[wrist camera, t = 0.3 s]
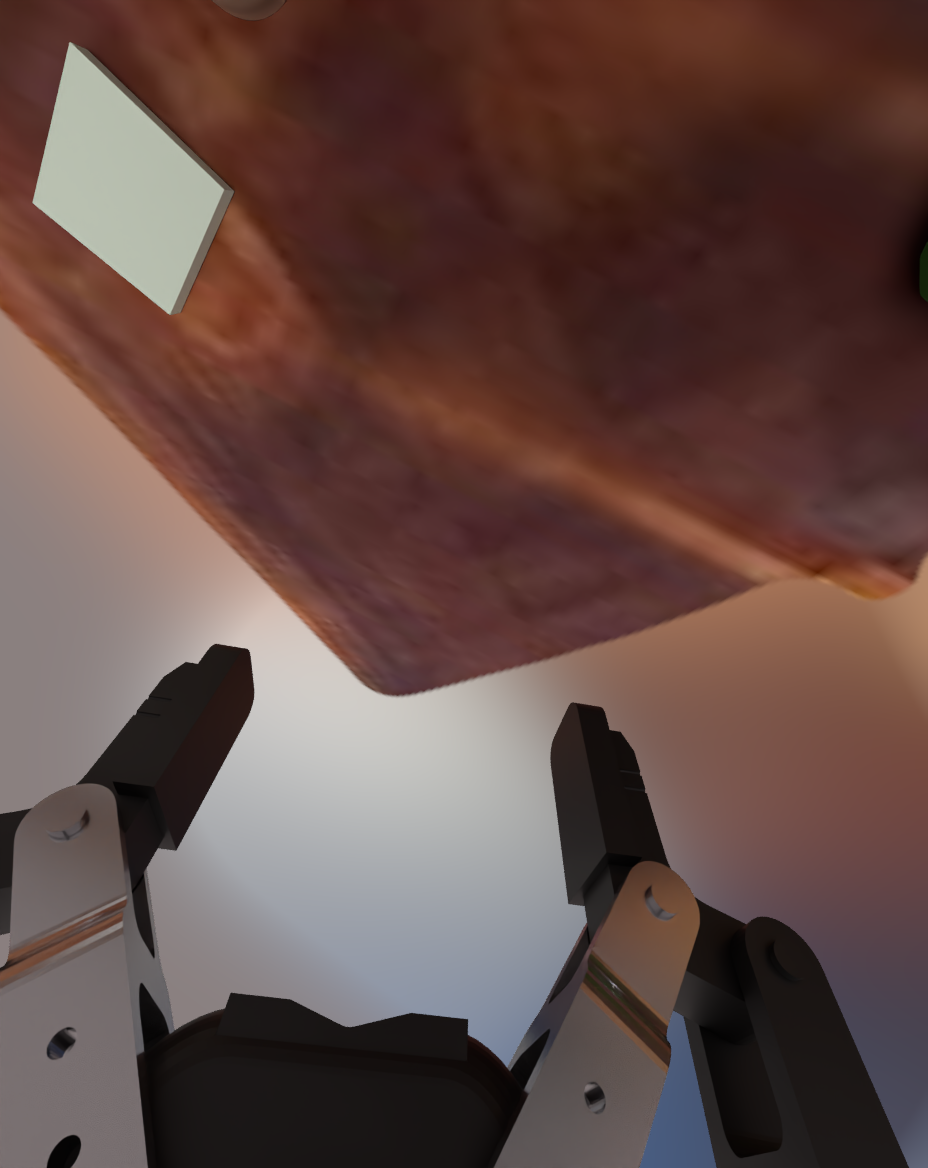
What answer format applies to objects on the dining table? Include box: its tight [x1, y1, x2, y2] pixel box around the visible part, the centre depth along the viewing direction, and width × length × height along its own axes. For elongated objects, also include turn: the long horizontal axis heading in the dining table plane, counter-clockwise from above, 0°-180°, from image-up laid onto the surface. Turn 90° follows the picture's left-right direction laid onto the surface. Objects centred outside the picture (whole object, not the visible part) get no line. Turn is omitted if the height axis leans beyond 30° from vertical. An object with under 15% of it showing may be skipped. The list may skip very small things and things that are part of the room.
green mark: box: [33, 42, 234, 315], centre depth 23 cm, size 7×7×1 cm
